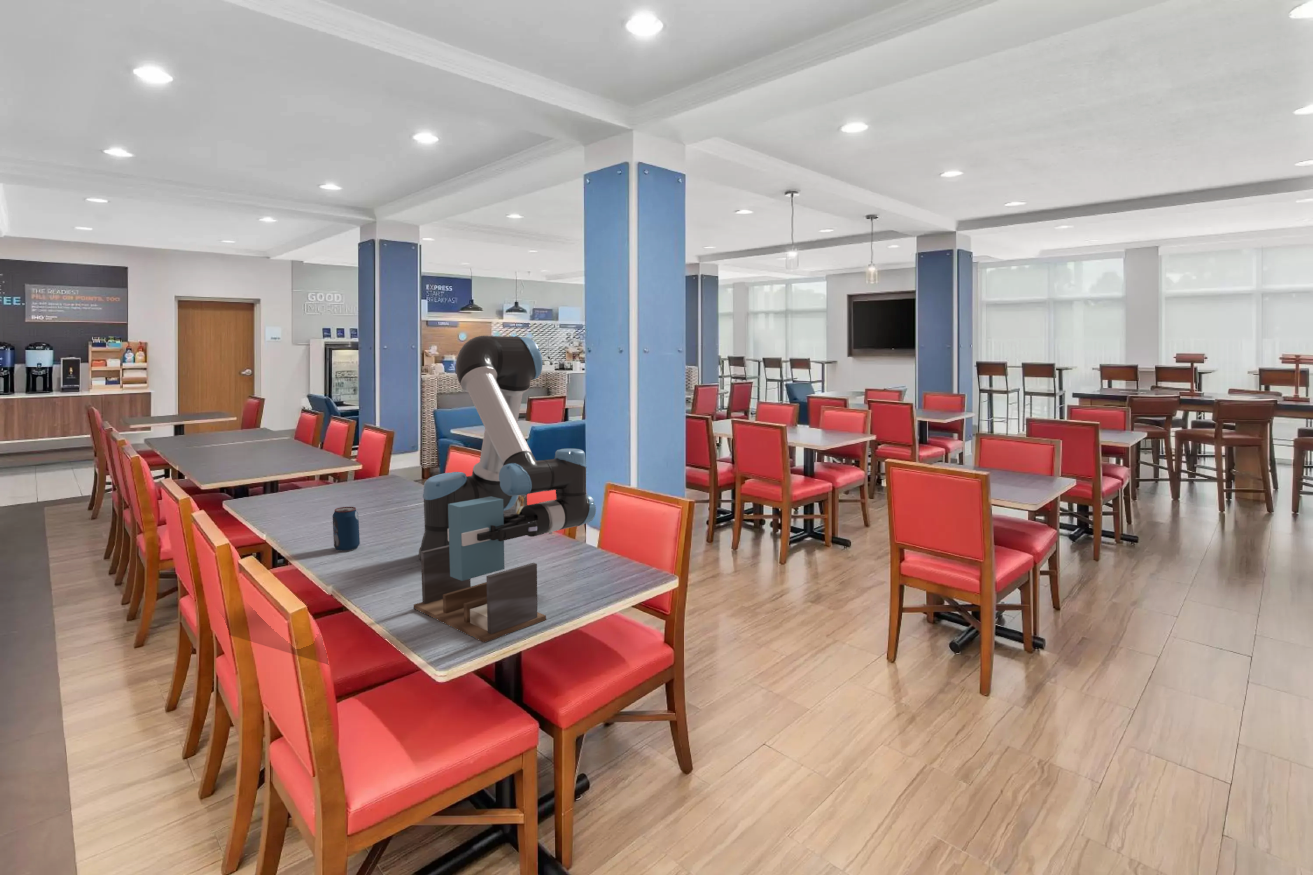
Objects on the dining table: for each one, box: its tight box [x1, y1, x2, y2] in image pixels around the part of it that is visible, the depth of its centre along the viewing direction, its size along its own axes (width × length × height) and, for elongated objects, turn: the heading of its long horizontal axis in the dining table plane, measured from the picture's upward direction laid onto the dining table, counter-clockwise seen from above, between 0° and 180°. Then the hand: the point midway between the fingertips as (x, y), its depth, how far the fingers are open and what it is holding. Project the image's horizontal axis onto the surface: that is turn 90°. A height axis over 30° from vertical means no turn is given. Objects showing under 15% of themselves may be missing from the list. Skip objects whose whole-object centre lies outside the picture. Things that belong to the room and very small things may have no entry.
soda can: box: [332, 506, 361, 552], centre depth 200 cm, size 7×7×12 cm
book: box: [448, 496, 505, 581], centre depth 150 cm, size 4×11×16 cm, turn 139°
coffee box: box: [503, 494, 528, 516], centre depth 224 cm, size 9×6×16 cm
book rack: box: [413, 545, 547, 643], centre depth 151 cm, size 27×16×13 cm, turn 49°
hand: (455, 537), depth 146 cm, fingers closed on book, 4 cm apart
